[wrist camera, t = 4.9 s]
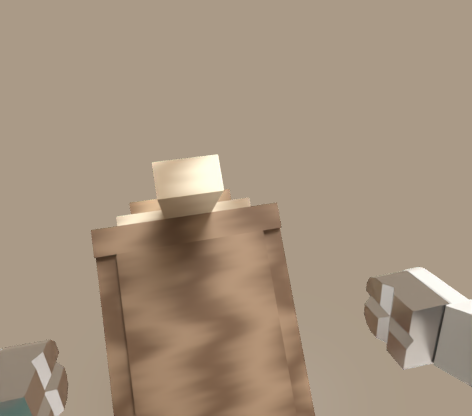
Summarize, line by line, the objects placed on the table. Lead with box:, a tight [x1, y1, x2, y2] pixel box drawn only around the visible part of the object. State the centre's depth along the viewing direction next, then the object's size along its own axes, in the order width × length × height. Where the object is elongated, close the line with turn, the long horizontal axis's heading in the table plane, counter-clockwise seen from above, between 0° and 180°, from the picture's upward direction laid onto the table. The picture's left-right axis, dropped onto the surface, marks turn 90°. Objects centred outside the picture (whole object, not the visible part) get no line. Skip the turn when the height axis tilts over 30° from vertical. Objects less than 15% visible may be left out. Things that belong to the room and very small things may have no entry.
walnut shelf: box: [91, 203, 315, 416], centre depth 33 cm, size 14×20×26 cm
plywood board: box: [116, 155, 251, 226], centre depth 32 cm, size 12×28×4 cm, turn 9°
